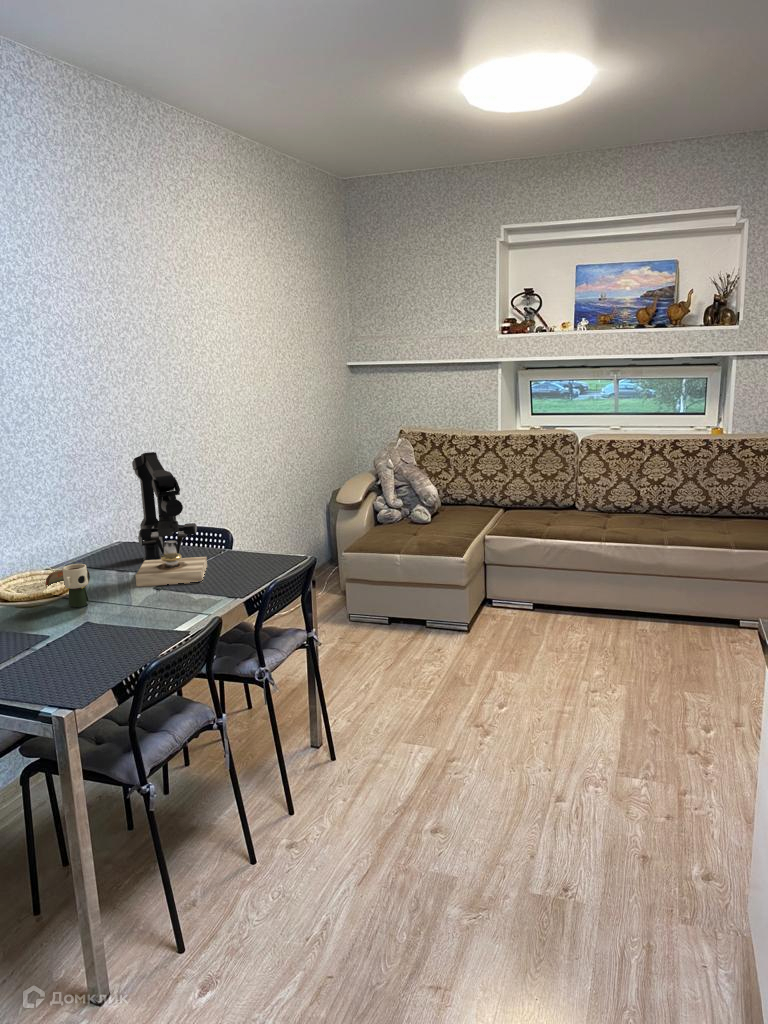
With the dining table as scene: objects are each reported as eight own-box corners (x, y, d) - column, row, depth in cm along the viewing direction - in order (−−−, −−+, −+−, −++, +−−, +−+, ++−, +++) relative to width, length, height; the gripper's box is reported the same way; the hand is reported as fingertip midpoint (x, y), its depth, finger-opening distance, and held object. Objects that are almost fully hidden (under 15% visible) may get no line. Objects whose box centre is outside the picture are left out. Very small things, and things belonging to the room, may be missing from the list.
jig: (145, 570, 285) (144, 560, 284) (207, 567, 287) (206, 556, 286) (136, 586, 268) (135, 575, 267) (202, 582, 270) (201, 571, 269)
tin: (50, 599, 257) (47, 575, 255) (45, 597, 259) (42, 573, 257) (91, 586, 269) (88, 563, 267) (86, 585, 271) (83, 562, 269)
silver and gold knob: (163, 565, 280) (161, 540, 278) (183, 564, 281) (181, 539, 278) (160, 571, 273) (158, 545, 271) (181, 570, 274) (178, 544, 272)
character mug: (81, 611, 245) (76, 572, 242) (59, 611, 246) (54, 571, 243) (97, 600, 255) (93, 561, 252) (77, 599, 256) (72, 561, 253)
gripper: (134, 517, 263) (139, 562, 267) (191, 514, 265) (195, 558, 269) (140, 510, 274) (145, 553, 278) (195, 507, 276) (198, 549, 280)
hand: (170, 553), depth 276 cm, fingers closed on silver and gold knob, 5 cm apart
